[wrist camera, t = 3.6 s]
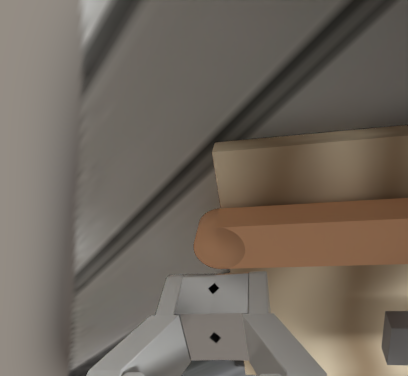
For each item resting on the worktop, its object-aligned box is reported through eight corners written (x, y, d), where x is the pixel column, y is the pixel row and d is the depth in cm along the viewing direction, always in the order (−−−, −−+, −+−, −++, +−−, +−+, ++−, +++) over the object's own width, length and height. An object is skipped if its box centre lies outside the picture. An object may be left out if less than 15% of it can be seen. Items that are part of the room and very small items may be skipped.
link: (473, 188, 20) (495, 210, 18) (461, 242, 22) (480, 267, 20) (194, 204, 23) (188, 225, 21) (203, 251, 25) (198, 274, 23)
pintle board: (557, 111, 19) (669, 162, 14) (481, 362, 29) (531, 451, 23) (214, 142, 23) (200, 193, 17) (246, 358, 32) (243, 434, 27)
